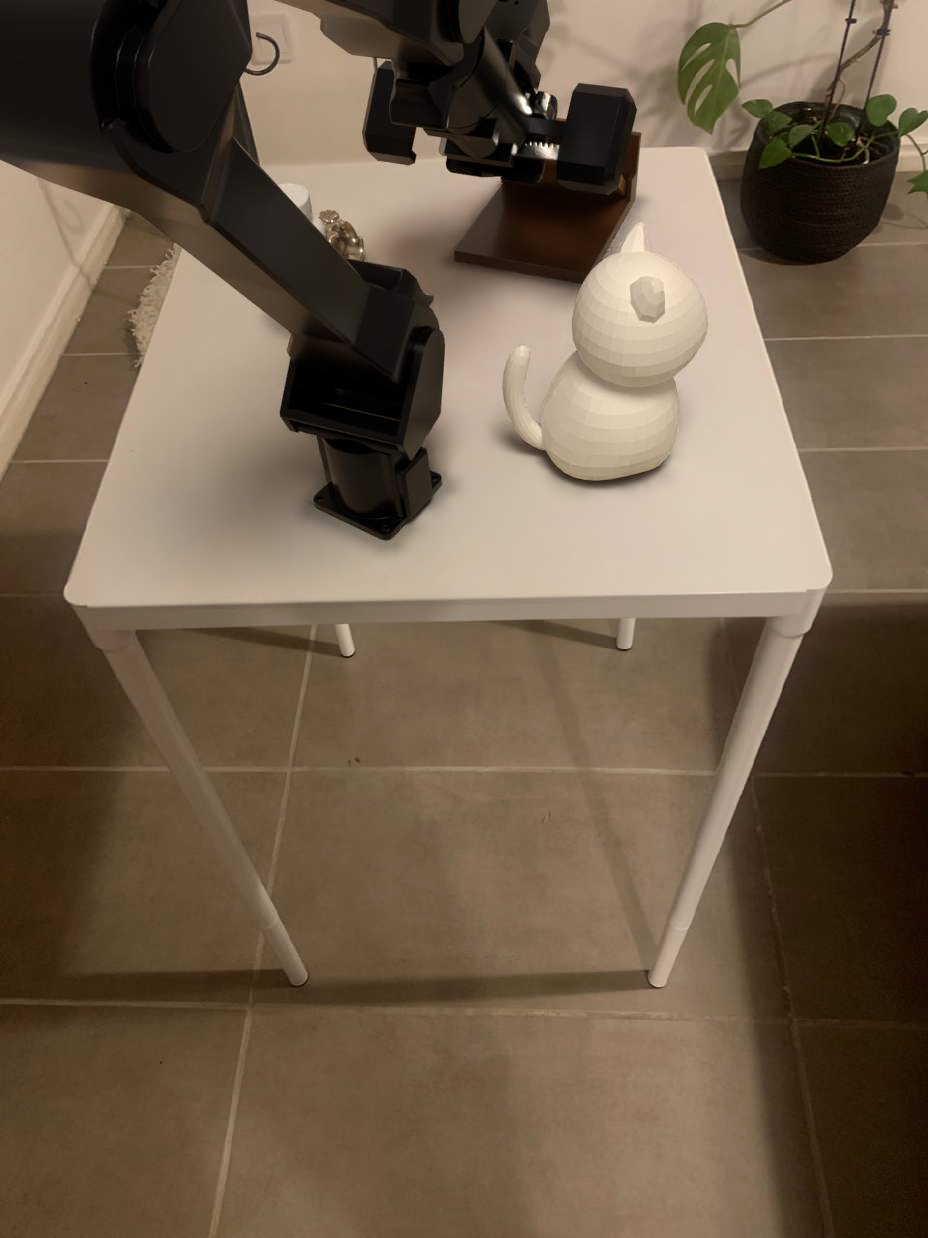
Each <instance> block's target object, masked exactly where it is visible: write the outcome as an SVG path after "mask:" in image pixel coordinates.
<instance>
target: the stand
mask: <svg viewBox="0 0 928 1238" xmlns="http://www.w3.org/2000/svg"><path fill="white" fill-rule="evenodd" d="M641 143H642V132H640V131H634V130H632V133H631V137H630V141H629V145H628V149H627V154H626V158H625V162H624V166H623V170H622V174H621V175H622V176H623V178H624V179H625V181H626V182H627V184H628V185H627V191H626V195H625V196H622V195H616V194H609V195H602V194H596V193H589V192H582V191H576V190H571V189H569V188H566V187H562V186H555V185H548V184H542V183H538V184H536V185H529V184H522V183H516V182H509V181H502V180H501V179H500V183H501V184H500V186H499V187H498V189H497V190H496V191H495V192H494V194H493V196H492V197H491V199H489V201H488V202H487V204H486V205H485V207H484V208H483V209H482V211H481V212H480V213H479V215H478V216H477V218H476V219H475V220H474V222H473V223H472V225H470V227H469V229H468V230H467V231H466V233H465V234H464V235H463V237H462V238H461V239H460V241H459V242H458V243H457V245H456V247H455V248H454V249H453V261H454V262H458V263H466V264H470V265H476V266H481V267H487V268H492V269H497V270H498V269H499V270H504V271H509V272H515V273H521V274H525V275H526V274H527V275H532V276H537V277H544V278H549V279H554V280H561V281H565V282H571V283H578V284H581V285H582V284H583V282H584V280H585V279H586V277H587V276H588V274H589V273H590V272H591V270H592V269H593V268H594V267H595V266H596V265H597V264H598V263H600V262H601V261H602V260H604V257H605V254H606V253H607V252H608V250H609V248H610V246H611V244H612V243H613V240H614V239H615V237H616V236H617V233H618V231H619V230H620V228H621V226H622V224H623V223H624V221H625V219H626V217H627V215H628V214H629V212H630V210H631V209H632V207H633V205H634V203H635V201H636V198H637V197H636V195H637V186H638V175H639V164H640V152H641Z"/></svg>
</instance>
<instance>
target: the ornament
mask: <svg viewBox="0 0 928 1238" xmlns="http://www.w3.org/2000/svg"><path fill="white" fill-rule="evenodd" d="M318 214H319V215H318V217H319V218H320V219H321V221H322V222H323V224H324V227H325V231H326V235H327V240H328V241H329V242H330V243H331V244H332V245H333V246H334V243H335V242H336V243H337V246H338V251H339V253H340V254H341V255H342V256H343V257H344V258H348V259H354V260H359V261H363V258H364V253H365V242H364V239H363V237H362V236H359V235H358V232H357V231H356V229H355V227H354V226H353V225H352V223H350V222H349V221H348V220H343V219H342V218H340V213H338V212H337V211H336V210H335V209H333V210H331V209H326V210H325V211H324V210H321V211H320V212H318Z"/></svg>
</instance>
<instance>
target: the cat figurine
mask: <svg viewBox="0 0 928 1238" xmlns="http://www.w3.org/2000/svg"><path fill="white" fill-rule="evenodd" d="M708 327H709V315H708V309H707V304H706V302H705V299H704V296H703V293H701V290H700V288H699V287H698V285H697V283H696V282H695V281H694V279H692V278H691V276H690V275H688V273H687V272H686V271H684V269H682V268H681V267H680V266H679V265H677V264H676V263H675V262H674V261H672V260H671V259H669V258H667V257H665V256H664V255H661V254H659V253H657V252H655V251H654V252H653V251H650V249H649V241H648V234H647V230H646V226H645V224H644V223H643V222H642V221H638V222H637V223H636V224H634V225H633V226H632V227H631V228H630V230H628V232H627V233H626V235H625V236H624V237H623V239H622V241H621V243H620V244H619V246H618V247H617V251H616V253H613V254H610V255H608V256H606V257H605V258H603V259H602V260H601V262H600V263H598V264H597V265H596V266H595V267H594V268H593V269H592V270H591V272H590V273H589V274H588V276H587V277H586V279H585V280H584V282H583V284H582V283H581V286H580V288H579V290H578V292H577V296H576V300H575V303H574V306H573V310H572V317H571V333H572V341H573V344H574V346H575V349H576V350H575V351H574V352H573V353H572V354H571V355H570V356H569V357H568V358H567V359H566V360H565V361H564V362H563V364H562V365H561V367H560V369H559V370H558V372H556V374H555V376H554V379H553V381H552V382H551V384H550V386H549V388H548V391H547V393H546V395H545V398H544V400H543V401H542V406H541V410H540V414H539V416H540V425H539V424H538V423H537V422H536V421H535V419H534V417H533V416H532V415H531V412H530V411H529V408H528V405H527V402H526V395H525V394H526V393H525V387H526V386H525V384H526V380H527V375H528V371H529V367H530V366H529V365H530V361H531V351H530V348H529V347H528V346H527V345H525V344H519V345H518V346H516V347H515V348H513V350H512V351H511V352H510V354H509V355H508V358H507V360H506V362H505V365H504V368H503V369H504V370H503V373H502V374H503V375H502V386H501V387H502V388H501V389H502V396H503V402H504V406H505V409H506V412H507V415H508V417H509V420H510V423H511V425H512V426H513V428H514V429H515V431H516V433H517V434H518V435H519V437H520V438H521V439H522V440H523V441H524V442H526V443H527V444H529V445H530V446H532V447H534V448H536V449H539V450H542V451H545V452H546V453H547V455H548V456H549V458H550V459H551V461H552V462H553V463H554V465H555V466H556V467H557V468H559V470H561V471H562V472H563V473H564V474H567V475H568V476H571V477H572V478H576V479H579V480H584V481H606V480H613V479H619V478H624V477H629V476H633V475H636V474H640V473H641V474H642V473H644V472H648V471H651V470H653V469H656V468H658V467H659V466H661V464H663V462H664V461H665V460H666V459H667V458H668V457H669V455H671V452H672V449H673V447H674V444H675V441H676V438H677V435H678V425H679V417H680V399H679V398H680V397H679V392H678V386H677V382H676V380H675V376H676V375H678V374H679V373H680V372H682V371H683V370H684V369H686V367H687V366H688V365H690V363H691V362H692V360H694V358H695V356H696V354H697V353H698V351H699V350H700V348H701V347H702V346H703V344H704V343H705V342H704V341H705V340H706V336H707V333H708Z"/></svg>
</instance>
